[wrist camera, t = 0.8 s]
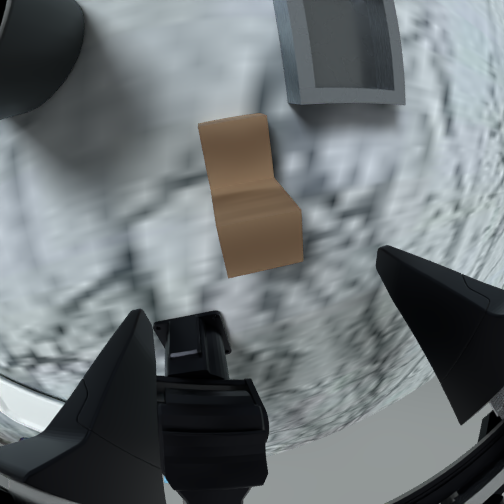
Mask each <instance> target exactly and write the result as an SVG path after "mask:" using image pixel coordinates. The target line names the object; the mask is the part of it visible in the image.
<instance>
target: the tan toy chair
mask: <svg viewBox="0 0 504 504" xmlns="http://www.w3.org/2000/svg"><path fill="white" fill-rule="evenodd" d="M198 129H199V135H200V140H201V145H202V150H203V155H204V160H205V165H206V170H207V175H208V179H209V184H210V189H211V195H212V202H213V208H214V215H215V221H216V228H217V232H218V236H219V241H220V245H221V249H222V254H223V258H224V262H225V266H226V270H227V275H228V278H232V277H237V276H241V275H246V274H250V273H255V272H259V271H264V270H268V269H272V268H277V267H281V266H285V265H290V264H294V263H298V262H303V236H302V213H301V209H300V208H299V207H298V205H297V204H296V203H295V202H294V201H293V199H292V198H291V197H290V196H289V195H288V193H287V192H286V191H285V190H284V189H283V187H282V186H281V185H280V184H279V183H278V182H277V180H276V179H275V178H274V173H273V164H272V155H271V147H270V138H269V130H268V122H267V115H264V114H261V113H256V114H249V115H242V116H236V117H230V118H224V119H219V120H214V121H209V122H204V123H199V124H198Z"/></svg>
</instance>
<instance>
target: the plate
mask: <svg viewBox="0 0 504 504" xmlns="http://www.w3.org/2000/svg"><path fill="white" fill-rule="evenodd" d="M64 404H65V402H63V401H61V400H58V399H55V398H52V397H49V396H47V395H44V394H41V393H39V392H36V391H34V390H31V389H29V388H27V387H24V386H22V385H20V384H17V383H15V382H13V381H11V380H9V379H7V378H5V377H3V376H1V375H0V411H1V412H2V413H4V414H5V415H6V416H8V417H9V418H11V419H12V420H14V421H15V422H17V423H20V424H22V425H24V426H26V427H29V428H31V429H34V430H36V431H39V432H43V431H44V430H45V429H46V427H47V426H48V425H49V424H50V422H51V421H52V420H53V418H54V417H55V416H56V414H57V413H58V412H59V410H60V409H61V408H62V407H63V405H64Z"/></svg>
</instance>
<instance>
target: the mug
mask: <svg viewBox="0 0 504 504" xmlns="http://www.w3.org/2000/svg"><path fill="white" fill-rule="evenodd" d="M83 36H84V18H83V13H82V10H81V8H80V6H79V5H78V3H77V2H76V1H75V0H0V120H1V119H5V118H8V117H11V116H15V115H19V114H22V113H26V112H29V111H31V110H33V109H35V108H37V107H38V106H40V105H41V104H43V103H44V102H45V101H46V100H47V99H49V98H50V97H51V96H52V95H53V94H54V93H55V92H56V91H57V89H58V88H59V87H60V86H61V84H62V83H63V82H64V81H65V79H66V78H67V76H68V74H69V73H70V71H71V70H72V68H73V66H74V64H75V62H76V60H77V57H78V55H79V52H80V49H81V45H82V41H83Z"/></svg>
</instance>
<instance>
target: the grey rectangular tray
mask: <svg viewBox="0 0 504 504" xmlns="http://www.w3.org/2000/svg"><path fill="white" fill-rule="evenodd" d="M273 3H274V9H275V15H276V21H277V27H278V33H279V39H280V46H281V53H282V60H283V67H284V74H285V82H286V90H287V99H288V103H293V104H300V105H305V104H324V103H378V104H396V105H405V81H404V68H403V57H402V48H401V40H400V33H399V27H398V21H397V15H396V10H395V5H394V1H393V0H273Z"/></svg>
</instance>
